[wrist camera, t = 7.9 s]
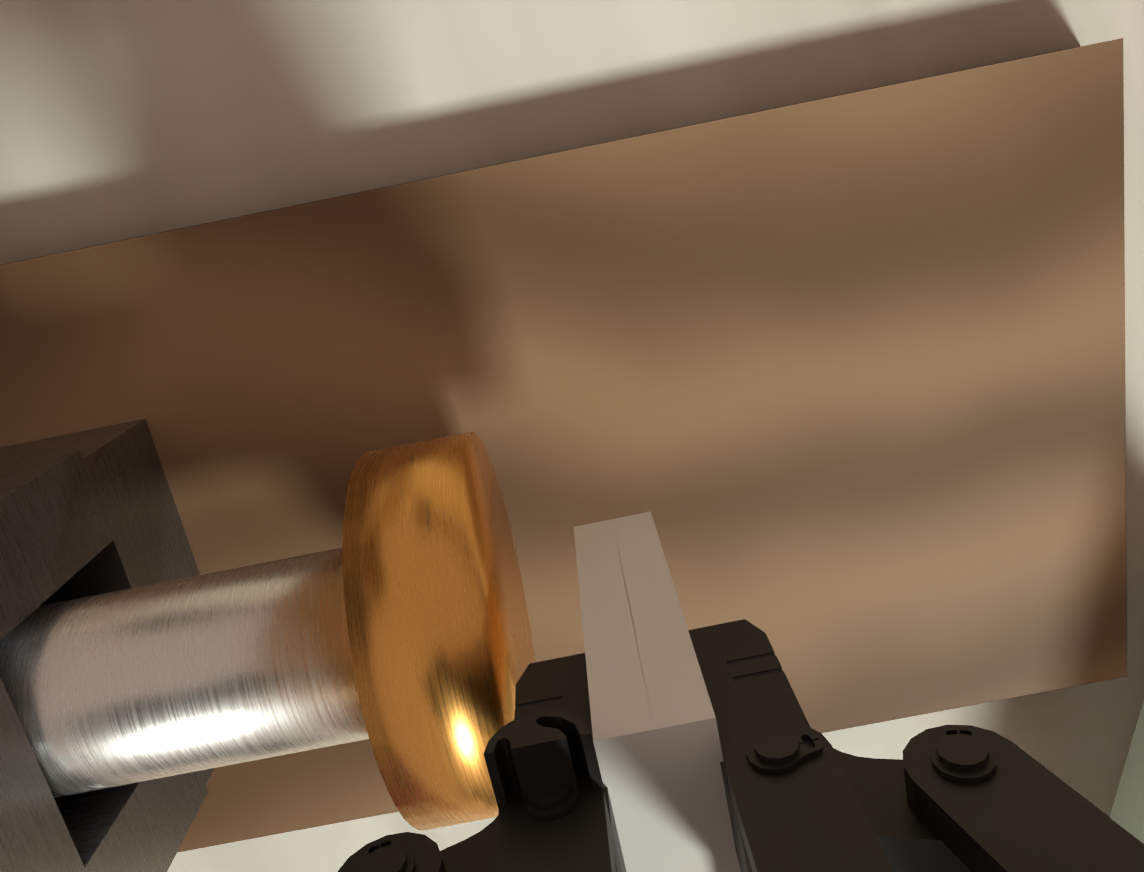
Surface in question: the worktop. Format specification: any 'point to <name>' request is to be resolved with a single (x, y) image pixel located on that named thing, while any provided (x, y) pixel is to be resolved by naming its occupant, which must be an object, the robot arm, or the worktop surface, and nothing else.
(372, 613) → the shaft
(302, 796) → the base board
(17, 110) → the worktop surface
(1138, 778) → the l-shaped corner panel
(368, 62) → the worktop surface
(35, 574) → the housing
